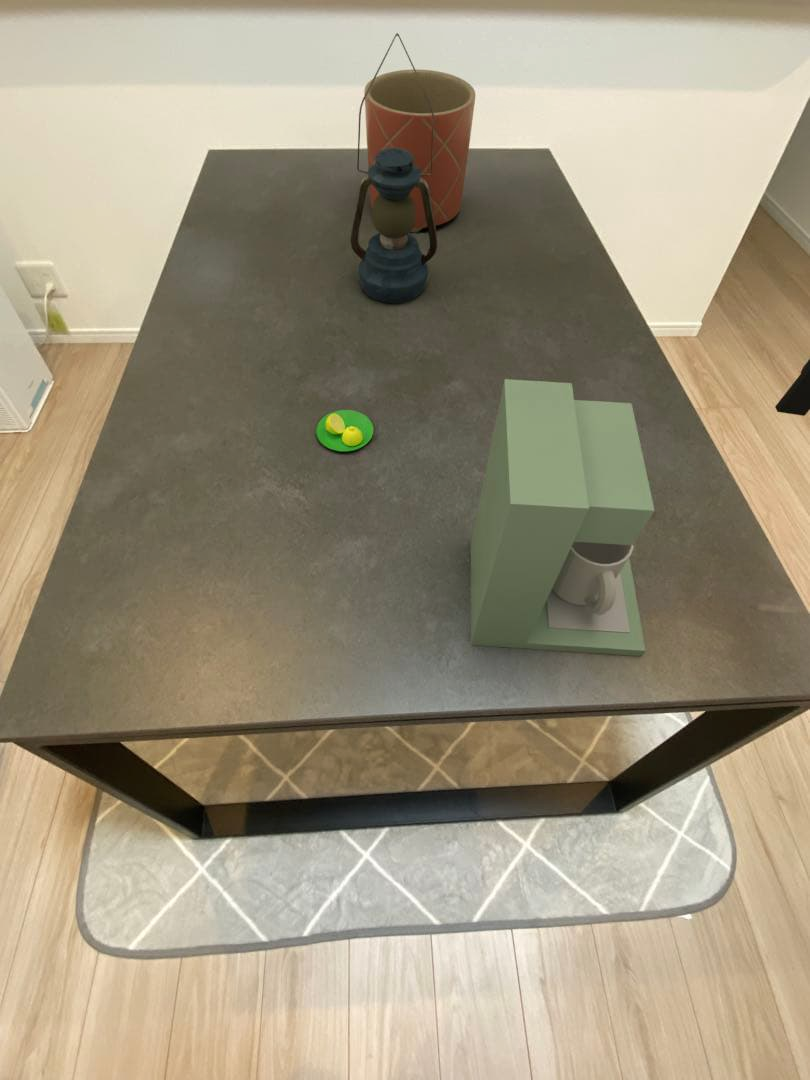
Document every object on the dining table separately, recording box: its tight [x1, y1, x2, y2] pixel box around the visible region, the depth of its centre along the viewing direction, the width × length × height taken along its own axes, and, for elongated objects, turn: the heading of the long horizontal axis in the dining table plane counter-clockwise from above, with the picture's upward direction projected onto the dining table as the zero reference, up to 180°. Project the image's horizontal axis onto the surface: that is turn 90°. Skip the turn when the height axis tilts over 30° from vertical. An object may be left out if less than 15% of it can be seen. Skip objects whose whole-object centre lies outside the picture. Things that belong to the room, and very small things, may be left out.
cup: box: [552, 542, 635, 615], centre depth 66 cm, size 7×10×9 cm
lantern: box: [350, 33, 438, 304], centre depth 90 cm, size 14×12×35 cm
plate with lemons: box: [315, 409, 374, 452], centre depth 84 cm, size 8×8×3 cm
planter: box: [363, 69, 476, 234], centre depth 111 cm, size 19×19×20 cm
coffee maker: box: [470, 378, 656, 657], centre depth 60 cm, size 19×14×26 cm
